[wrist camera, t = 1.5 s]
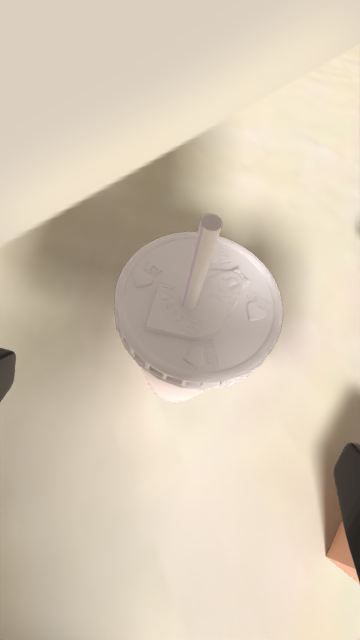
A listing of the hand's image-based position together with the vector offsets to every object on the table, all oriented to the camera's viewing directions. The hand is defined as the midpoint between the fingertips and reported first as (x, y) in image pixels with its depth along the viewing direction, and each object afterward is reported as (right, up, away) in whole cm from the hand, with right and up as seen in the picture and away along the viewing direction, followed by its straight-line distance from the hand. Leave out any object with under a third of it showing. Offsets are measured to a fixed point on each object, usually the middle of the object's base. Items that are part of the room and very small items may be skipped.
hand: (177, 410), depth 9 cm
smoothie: (0, -1, +12) cm, 12 cm away
